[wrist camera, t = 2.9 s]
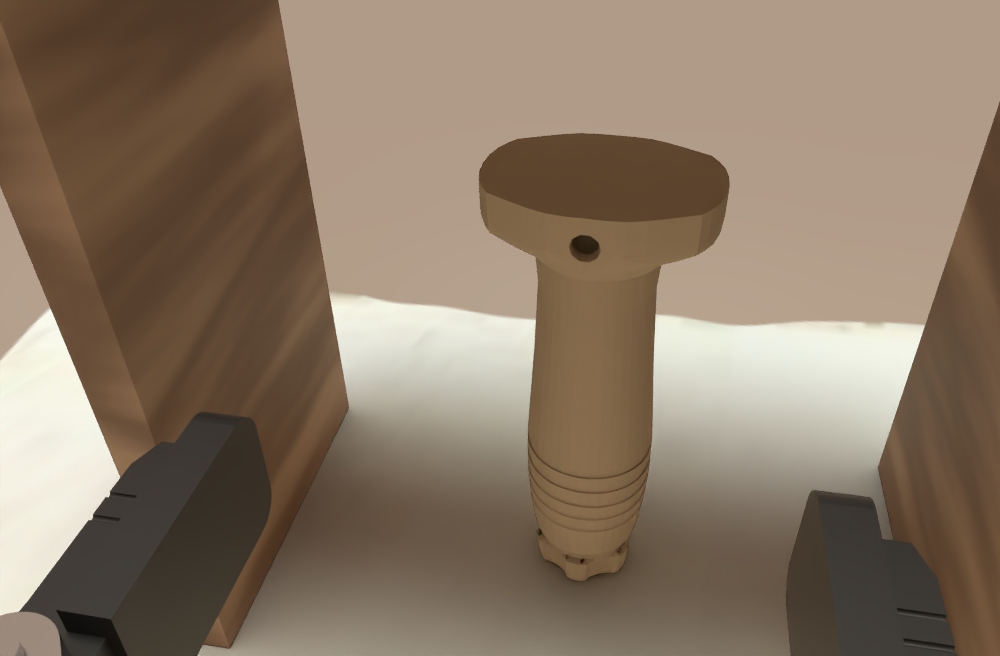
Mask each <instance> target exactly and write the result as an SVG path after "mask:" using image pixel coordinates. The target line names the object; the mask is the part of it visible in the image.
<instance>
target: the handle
mask: <svg viewBox="0 0 1000 656" xmlns="http://www.w3.org/2000/svg"><path fill="white" fill-rule="evenodd" d="M729 186H730V185H729V176H728V173H727V171H726V169H725V167H724V166H723V165H722V164H721V163H720V162H719V161H717V160H716V159H715V158H714V157H712V156H710V155H707V154H704V153H700V152H697V151H694V150H690V149H687V148H684V147H680V146H677V145H673V144H670V143H666V142H661V141H657V140H653V139H645V138H637V137H627V136H615V135H604V134H584V133H579V134H561V135H552V136H542V137H532V138H524V139H516V140H514V141H511V142H509V143H507V144H505V145H503V146H501V147H499V148H497V149H496V150H495V151H494V152H493V153H491V154H490V155H489V156H488V157H487V159H486V160H485V161H484V162H483V164H482V167H481V169H480V172H479V193H480V209H481V215H482V218H483V221H484V223H485V226H486V228H487V229H488V230H489V232H490V233H491V234H493V235H495V236H497V237H498V238H500V239H502V240H504V241H506V242H507V243H509V244H511V245H513V246H514V247H516V248H519V249H520V250H523V251H524V252H527V253H528V254H531V255H533V256H535V257H536V263H537V274H538V293H537V311H536V329H535V348H534V360H533V372H532V385H531V397H530V409H529V422H528V465H529V476H530V486H531V494H532V500H533V505H534V510H535V514H536V518H537V522H538V525H539V527H540V529H537V538H538V544H539V548H540V551H541V554H542V556H543V558H544V559H546V560H548V561H551V562H553V563H555V564H557V565H558V566H560V567H561V568H562V569H563V570H564V571H565V573H566V576H567V577H568V578H570V579H572V580H576V581H586V579H587V578H589V577H591V576H593V575H596V574H600V573H615V572H617V571H618V570H619V569H620V568H621V567H622V566H623V564H624V562H625V559H626V556H627V551H628V546H627V542H628V538H629V536H630V534H631V532H632V530H633V528H634V525H635V522H636V520H637V517H638V513H639V510H640V507H641V503H642V500H643V495H644V491H645V485H646V482H647V477H648V470H649V462H650V453H651V441H652V417H653V363H654V335H655V313H656V289H657V283H658V278H659V273H660V268H661V265H663V264H667V263H671V262H676V261H680V260H683V259H686V258H690V257H693V256H696V255H698V254H700V253H701V252H703V251H705V250H706V249H707V248H709V247H710V246H711V245H713V244H714V242H715V240H716V239H717V237H718V236H719V234H720V232H721V228H722V225H723V221H724V217H725V212H726V206H727V200H728V193H729Z"/></svg>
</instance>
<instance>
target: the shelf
mask: <svg viewBox="0 0 1000 656" xmlns="http://www.w3.org/2000/svg"><path fill="white" fill-rule="evenodd" d="M0 186H1V189H2V191H3V194H4V196H5V199H6V201H7V203H8V206H9V208H10V211H11V213H12V215H13V218H14V220H15V223H16V225H17V228H18V230H19V233H20V235H21V237H22V240H23V242H24V244H25V247H26V250H27V252H28V254H29V257H30V259H31V262H32V264H33V266H34V269H35V271H36V274H37V276H38V279H39V281H40V283H41V286H42V288H43V291H44V293H45V296H46V298H47V300H48V303H49V305H50V308H51V310H52V313H53V315H54V317H55V320H56V322H57V325H58V327H59V330H60V332H61V334H62V337H63V339H64V342H65V344H66V347H67V349H68V351H69V354H70V356H71V359H72V361H73V364H74V366H75V368H76V371H77V373H78V376H79V378H80V381H81V383H82V385H83V388H84V390H85V393H86V395H87V398H88V400H89V402H90V405H91V407H92V410H93V412H94V415H95V417H96V419H97V422H98V424H99V427H100V429H101V432H102V434H103V436H104V439H105V441H106V444H107V446H108V448H109V451H110V453H111V456H112V458H113V461H114V463H115V465H116V468H117V470H118V473H119V475H120V478H121V476H122V475H123V474H124V472H125V471H126V470H127V468H128V467H129V466H130V464H131V463H133V462H134V461H136V460H137V459H138V458H140V457H141V456H142V455H144V454H145V453H147V452H148V451H149V450H151V449H152V448H153V447H155V446H156V445H157V444H159V443H160V442H162V441H163V442H170V443H175V442H176V440H177V439H178V438H179V436H180V435H181V433H182V432H183V431H184V429H185V428H186V426H187V425H188V424H189V422H190V421H191V419H192V418H193V417H194V416H195V415H196V414H198V413H199V412H211V413H219V414H227V415H235V416H243V417H250V418H251V419H253V421H254V422H255V424H256V427H257V431H258V435H259V440H260V444H261V448H262V452H263V456H264V460H265V464H266V469H267V473H268V477H269V481H270V485H271V493H272V497H271V508H270V513H269V517H268V520H267V523H266V526H265V528H264V530H263V532H262V534H261V536H260V538H259V540H258V542H257V543H256V545H255V547H254V549H253V551H252V553H251V555H250V557H249V559H248V560H247V562H246V564H245V566H244V568H243V570H242V572H241V574H240V575H239V577H238V579H237V581H236V583H235V585H234V587H233V589H232V591H231V592H230V594H229V596H228V598H227V600H226V602H225V604H224V606H223V608H222V609H221V611H220V613H219V615H218V617H217V619H216V621H215V623H214V624H213V626H212V628H211V630H210V632H209V634H208V636H207V638H206V640H205V641H204V643H203V644H207V645H213V646H219V647H225V648H230V647H231V645H232V643H233V641H234V639H235V637H236V635H237V633H238V631H239V629H240V627H241V625H242V623H243V621H244V619H245V617H246V615H247V613H248V611H249V609H250V607H251V605H252V603H253V601H254V599H255V597H256V595H257V593H258V591H259V588H260V586H261V584H262V582H263V580H264V578H265V576H266V574H267V572H268V570H269V568H270V566H271V564H272V562H273V560H274V558H275V556H276V554H277V552H278V550H279V548H280V546H281V544H282V542H283V540H284V538H285V536H286V534H287V532H288V530H289V528H290V526H291V524H292V522H293V520H294V518H295V516H296V514H297V512H298V510H299V508H300V505H301V503H302V501H303V499H304V497H305V495H306V493H307V491H308V489H309V487H310V485H311V483H312V481H313V479H314V477H315V475H316V473H317V471H318V469H319V467H320V465H321V463H322V461H323V459H324V457H325V455H326V453H327V451H328V449H329V447H330V445H331V443H332V441H333V439H334V437H335V435H336V433H337V431H338V429H339V427H340V425H341V422H342V420H343V418H344V416H345V414H346V412H347V410H348V408H349V404H348V399H347V393H346V387H345V382H344V376H343V370H342V364H341V359H340V353H339V347H338V341H337V336H336V330H335V324H334V318H333V313H332V307H331V301H330V295H329V290H328V284H327V278H326V272H325V267H324V261H323V255H322V250H321V244H320V238H319V233H318V226H317V221H316V215H315V209H314V204H313V198H312V192H311V187H310V181H309V175H308V170H307V163H306V158H305V152H304V146H303V140H302V135H301V129H300V124H299V118H298V112H297V106H296V100H295V95H294V89H293V83H292V78H291V71H290V66H289V60H288V54H287V49H286V43H285V37H284V31H283V26H282V20H281V15H280V9H279V3H278V0H0ZM878 470H879V474H880V479H881V483H882V488H883V493H884V497H885V502H886V507H887V511H888V516H889V520H890V525H891V530H892V534H893V539H894V541H900V542H908V543H912V544H913V546H914V547H915V548H916V550H917V551H918V552H919V554H920V555H921V557H922V558H923V559H924V561H925V562H926V563H927V565H928V566H929V567H930V569H931V570H932V572H933V573H934V574H935V576H936V577H937V579H938V583H939V587H940V591H941V594H942V598H943V602H944V606H945V610H946V613H947V617H946V621H947V622H949V625H950V629H951V632H952V636H953V640H954V644H955V648H954V651H955V654H957V655H958V656H1000V103H999V106H998V109H997V112H996V115H995V118H994V121H993V124H992V127H991V130H990V133H989V136H988V139H987V142H986V145H985V148H984V151H983V154H982V157H981V160H980V163H979V166H978V169H977V172H976V175H975V178H974V181H973V184H972V187H971V190H970V193H969V196H968V199H967V202H966V205H965V208H964V211H963V214H962V217H961V220H960V223H959V226H958V229H957V232H956V235H955V238H954V241H953V244H952V247H951V250H950V253H949V256H948V259H947V262H946V265H945V268H944V271H943V274H942V277H941V280H940V283H939V286H938V289H937V292H936V295H935V298H934V301H933V304H932V307H931V310H930V313H929V316H928V319H927V322H926V325H925V328H924V331H923V334H922V337H921V340H920V343H919V346H918V349H917V352H916V355H915V358H914V361H913V364H912V367H911V370H910V373H909V376H908V379H907V382H906V385H905V388H904V391H903V394H902V397H901V400H900V403H899V406H898V409H897V412H896V415H895V418H894V421H893V424H892V427H891V430H890V433H889V436H888V439H887V442H886V445H885V448H884V451H883V454H882V457H881V460H880V463H879V466H878Z"/></svg>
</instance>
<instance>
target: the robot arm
mask: <svg viewBox="0 0 1000 656" xmlns="http://www.w3.org/2000/svg"><path fill="white" fill-rule="evenodd" d="M271 497H272V493H271V485H270V481H269V477H268V473H267V469H266V464H265V460H264V456H263V452H262V448H261V444H260V440H259V435H258V431H257V427H256V424H255V422H254V421H253V419H251V418H250V417H243V416H235V415H227V414H219V413H211V412H199V413H198V414H196V415H195V416H194V417H193V418H192V419H191V421H190V422H189V424H188V425H187V426H186V428H185V429H184V431H183V432H182V433H181V435H180V436H179V438H178V439H177V440H176V442H175V443H170V442H163V441H162V442H160V443H159V444H157V445H156V446H155V447H153V448H152V449H151V450H149V451H148V452H147V453H145V454H144V455H142V456H141V457H140V458H138V459H137V460H136V461H134V462H133V463H131V464H130V466H129V467H128V468H127V470H126V471H125V472H124V474H123V475H122V476H121V478H120V479H119V480H118V482H117V483H116V484H115V486H114V487H113V488H112V490H111V491H110V496H109V498H108V497H106V498H105V499H104V500H103V502H102V503H101V504H100V506H99V507H98V508H97V510H96V511H95V512H94V514H93V519H92V520H88V522H87V523H86V524H85V526H84V527H83V528H82V530H81V531H80V532H79V534H78V535H77V536H76V538H75V539H74V540H73V542H72V543H71V544H70V546H69V547H68V548H67V550H66V551H65V552H64V554H63V555H62V556H61V558H60V559H59V560H58V562H57V563H56V564H55V566H54V567H53V568H52V570H51V571H50V572H49V574H48V575H47V576H46V578H45V579H44V580H43V582H42V583H41V584H40V586H39V587H38V588H37V590H36V591H35V592H34V594H33V595H32V596H31V598H30V599H29V600H28V602H27V603H26V604H25V605H24V606H23V608H22V609H21V610H20V611H19V612H15V613H9V614H5V615H1V616H0V656H197V655H198V653H199V651H200V649H201V647H202V645H203V643H204V641H205V640H206V638H207V636H208V634H209V632H210V630H211V628H212V626H213V624H214V623H215V621H216V619H217V617H218V615H219V613H220V611H221V609H222V608H223V606H224V604H225V602H226V600H227V598H228V596H229V594H230V592H231V591H232V589H233V587H234V585H235V583H236V581H237V579H238V577H239V575H240V574H241V572H242V570H243V568H244V566H245V564H246V562H247V560H248V559H249V557H250V555H251V553H252V551H253V549H254V547H255V545H256V543H257V542H258V540H259V538H260V536H261V534H262V532H263V530H264V528H265V526H266V523H267V520H268V517H269V513H270V508H271ZM786 606H787V618H788V630H789V641H790V652H791V656H958V655H957V654H955V651H954V648H955V644H954V640H953V636H952V632H951V629H950V625H949V622H947V621H946V617H947V613H946V610H945V606H944V602H943V598H942V594H941V591H940V587H939V583H938V579H937V577H936V576H935V574H934V573H933V572H932V570H931V569H930V567H929V566H928V565H927V563H926V562H925V561H924V559H923V558H922V557H921V555H920V554H919V552H918V551H917V550H916V548H915V547H914V546H913V544H912V543H908V542H900V541H893V540H885V539H882V536H881V531H880V526H879V522H878V517H877V512H876V508H875V504H874V502H873V500H872V499H871V498H870V497H864V496H856V495H848V494H840V493H832V492H824V491H816V490H812V491H811V493H810V495H809V497H808V500H807V503H806V507H805V510H804V514H803V518H802V521H801V525H800V528H799V532H798V535H797V539H796V542H795V546H794V549H793V553H792V556H791V560H790V564H789V569H788V577H787V589H786Z"/></svg>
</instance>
